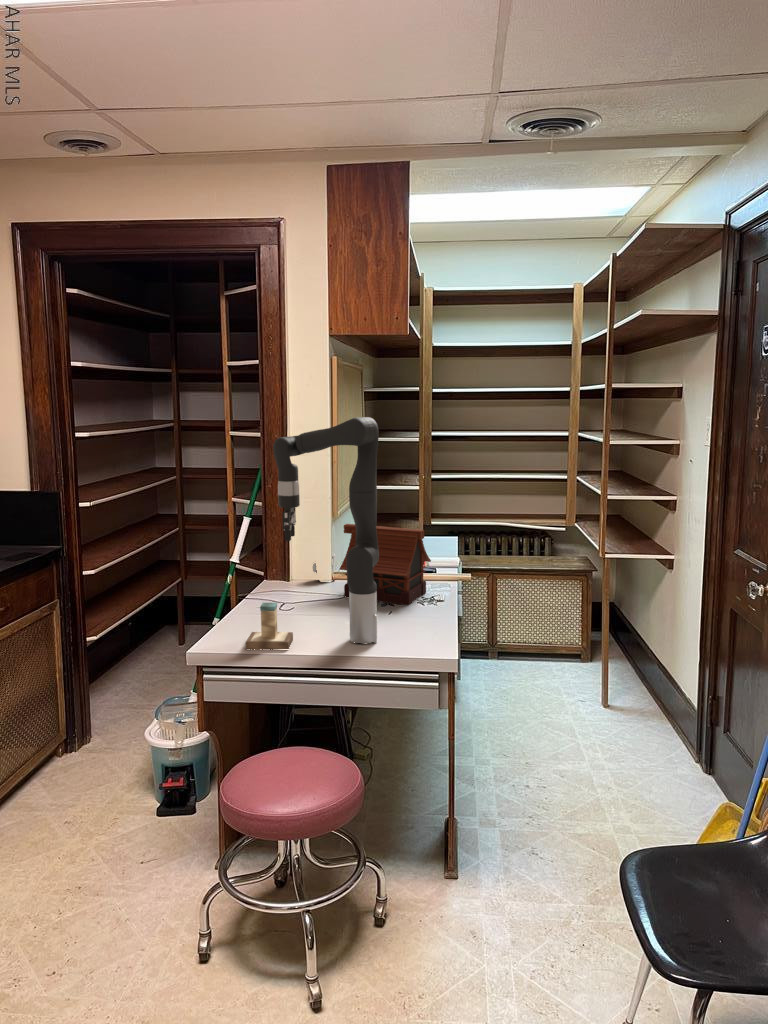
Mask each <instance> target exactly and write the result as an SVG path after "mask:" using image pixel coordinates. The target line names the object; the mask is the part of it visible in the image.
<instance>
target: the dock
mask: <svg viewBox="0 0 768 1024" xmlns="http://www.w3.org/2000/svg"><path fill="white" fill-rule="evenodd" d="M293 641H294V632H291V631H277V636H276V638H275V639H262V634H261V631H251V633H250V634H249V635H248V638H247V639H246V640H245V650H246V649H250V650H249V651H264V650H263V649H270V650H269V651H274V650H273V649H289V650H290V648H289V647H291V646H290V645H292V644H291V643H293ZM251 649H252V650H251ZM254 649H255V650H254ZM260 649H262V650H260ZM271 649H272V650H271Z"/></svg>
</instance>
